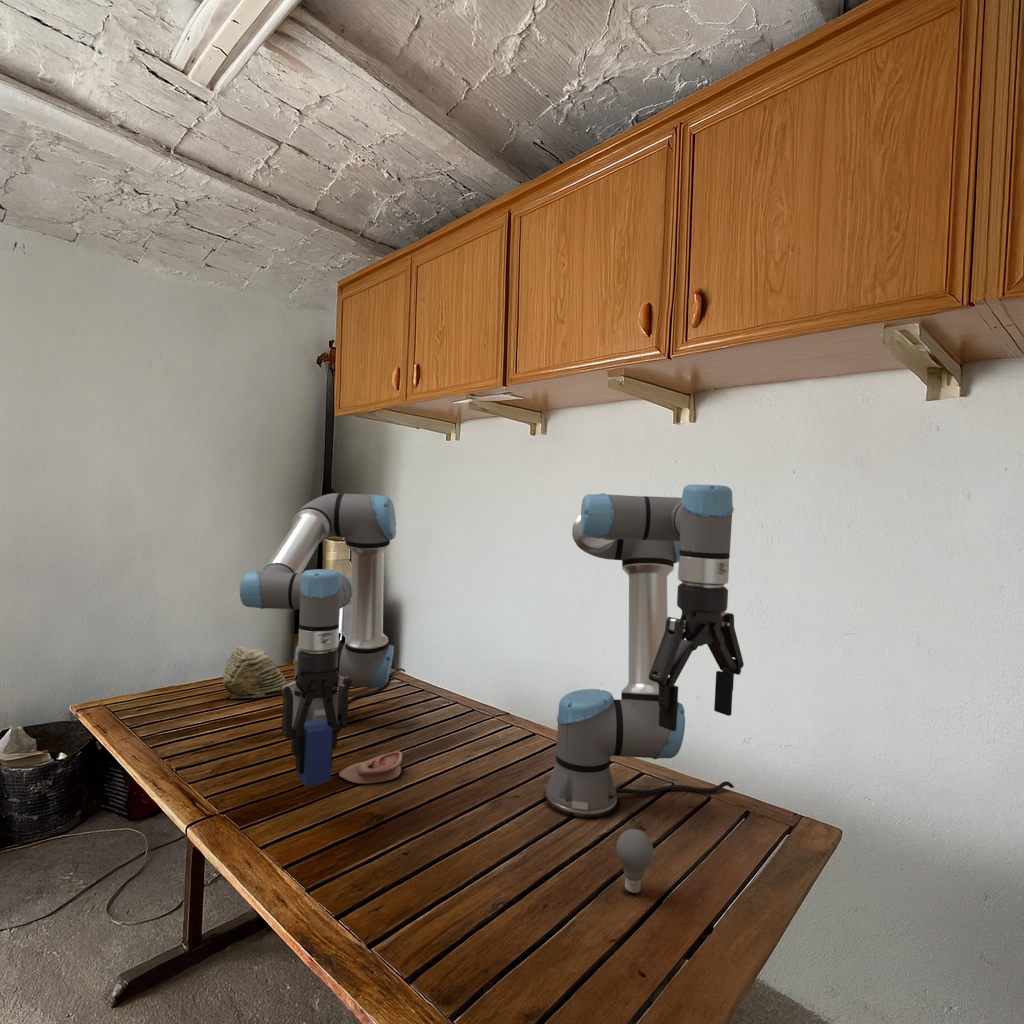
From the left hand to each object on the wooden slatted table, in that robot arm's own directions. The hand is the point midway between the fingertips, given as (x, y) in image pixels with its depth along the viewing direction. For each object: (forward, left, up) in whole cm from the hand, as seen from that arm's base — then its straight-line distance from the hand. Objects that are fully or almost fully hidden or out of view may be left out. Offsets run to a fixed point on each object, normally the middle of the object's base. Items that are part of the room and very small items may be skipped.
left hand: (313, 767), depth 124 cm
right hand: (-22, +68, +21) cm, 74 cm away
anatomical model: (-21, -8, -10) cm, 25 cm away
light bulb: (-23, +58, -10) cm, 63 cm away
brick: (0, 0, -2) cm, 2 cm away
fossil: (-32, -79, -10) cm, 85 cm away
